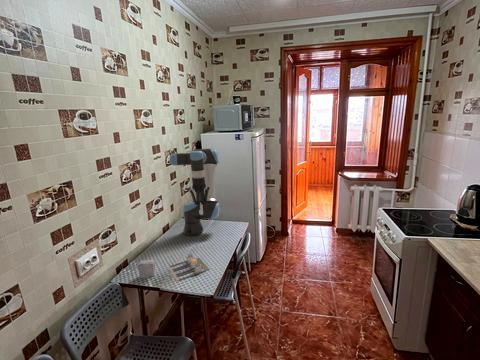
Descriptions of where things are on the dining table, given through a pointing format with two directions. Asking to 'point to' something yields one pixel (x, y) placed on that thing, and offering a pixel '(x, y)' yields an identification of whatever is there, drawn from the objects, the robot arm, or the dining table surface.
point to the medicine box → (147, 268)
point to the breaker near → (198, 268)
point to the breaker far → (190, 258)
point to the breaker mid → (193, 262)
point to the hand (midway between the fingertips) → (201, 214)
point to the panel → (176, 276)
